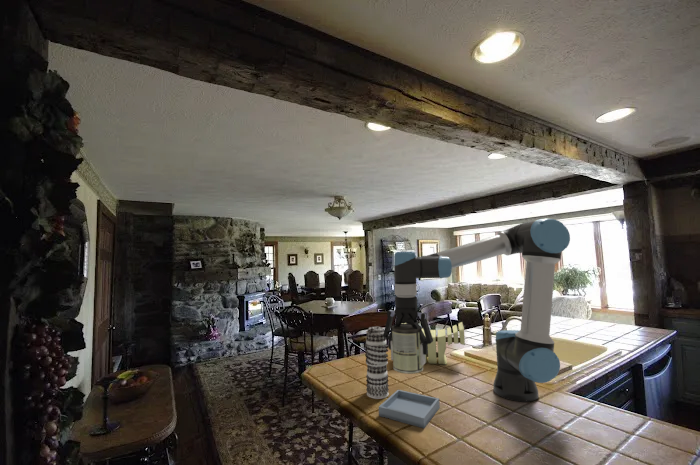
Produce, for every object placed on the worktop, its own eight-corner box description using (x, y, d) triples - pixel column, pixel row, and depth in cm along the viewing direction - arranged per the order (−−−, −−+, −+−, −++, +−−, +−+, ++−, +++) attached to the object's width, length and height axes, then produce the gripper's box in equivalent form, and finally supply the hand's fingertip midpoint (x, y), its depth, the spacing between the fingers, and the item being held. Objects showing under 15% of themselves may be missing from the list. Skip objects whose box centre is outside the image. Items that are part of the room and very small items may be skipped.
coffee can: (390, 364, 116) (389, 323, 117) (419, 362, 116) (417, 322, 117) (395, 374, 106) (394, 330, 107) (427, 373, 106) (425, 329, 107)
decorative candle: (364, 398, 121) (362, 330, 122) (366, 388, 130) (365, 325, 132) (389, 399, 119) (387, 330, 121) (389, 389, 129) (387, 325, 130)
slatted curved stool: (400, 363, 158) (399, 326, 160) (404, 353, 174) (403, 320, 175) (465, 367, 150) (464, 328, 152) (463, 357, 166) (461, 321, 167)
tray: (439, 407, 113) (439, 398, 113) (424, 428, 100) (423, 418, 100) (398, 397, 121) (397, 389, 121) (378, 416, 108) (378, 406, 108)
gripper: (441, 296, 110) (444, 363, 109) (381, 293, 122) (383, 353, 121) (434, 299, 104) (437, 370, 102) (372, 295, 116) (373, 359, 114)
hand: (408, 361), depth 111 cm, fingers closed on coffee can, 10 cm apart
